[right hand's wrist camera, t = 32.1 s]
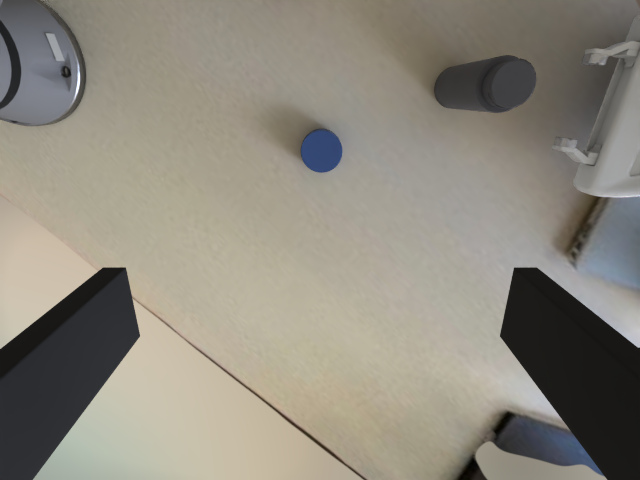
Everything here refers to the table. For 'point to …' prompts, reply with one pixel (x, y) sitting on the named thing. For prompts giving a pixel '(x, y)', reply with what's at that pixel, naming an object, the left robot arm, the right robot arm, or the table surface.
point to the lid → (321, 150)
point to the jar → (486, 85)
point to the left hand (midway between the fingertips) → (570, 101)
